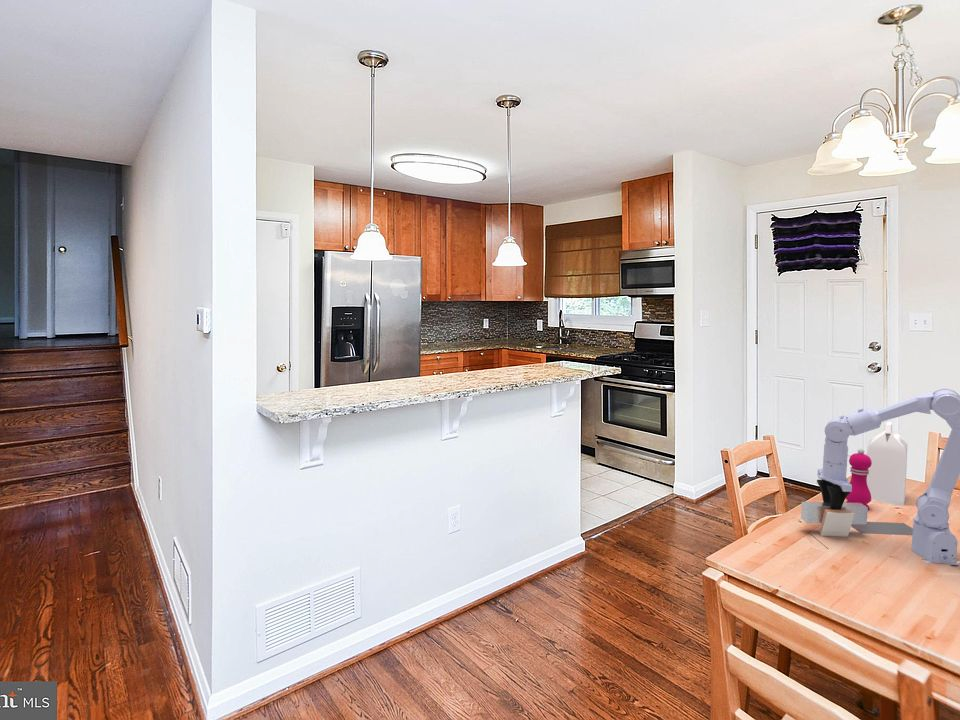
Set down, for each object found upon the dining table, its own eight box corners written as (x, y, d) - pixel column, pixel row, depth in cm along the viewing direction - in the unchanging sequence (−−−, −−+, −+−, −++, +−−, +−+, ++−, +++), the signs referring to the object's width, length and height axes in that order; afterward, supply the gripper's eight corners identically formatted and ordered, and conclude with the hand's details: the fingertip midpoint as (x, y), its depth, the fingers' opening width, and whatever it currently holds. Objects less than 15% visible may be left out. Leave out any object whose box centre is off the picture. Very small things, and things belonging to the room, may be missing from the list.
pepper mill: (874, 514, 175) (879, 452, 173) (849, 512, 176) (853, 451, 174) (863, 506, 182) (868, 446, 180) (839, 504, 183) (843, 445, 181)
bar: (866, 524, 156) (867, 507, 156) (806, 522, 158) (807, 505, 157) (859, 519, 160) (860, 502, 159) (801, 518, 161) (801, 501, 161)
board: (924, 538, 157) (924, 535, 157) (860, 535, 159) (860, 533, 159) (903, 525, 166) (903, 523, 166) (843, 523, 168) (843, 520, 168)
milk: (864, 489, 198) (870, 418, 195) (905, 497, 190) (911, 422, 188) (861, 499, 188) (866, 424, 186) (903, 507, 181) (910, 429, 178)
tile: (847, 537, 156) (854, 513, 153) (821, 535, 157) (827, 512, 154) (844, 533, 158) (851, 510, 155) (818, 532, 159) (824, 509, 156)
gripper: (807, 454, 165) (805, 498, 166) (833, 468, 150) (830, 517, 152) (833, 454, 164) (830, 499, 165) (861, 469, 149) (857, 518, 151)
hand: (831, 507), depth 158 cm, fingers closed on bar, 3 cm apart
